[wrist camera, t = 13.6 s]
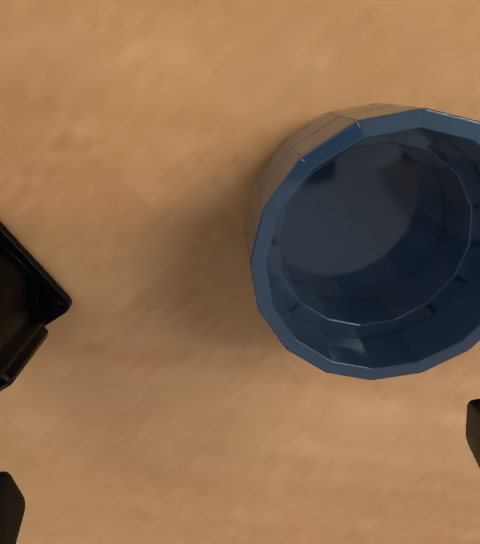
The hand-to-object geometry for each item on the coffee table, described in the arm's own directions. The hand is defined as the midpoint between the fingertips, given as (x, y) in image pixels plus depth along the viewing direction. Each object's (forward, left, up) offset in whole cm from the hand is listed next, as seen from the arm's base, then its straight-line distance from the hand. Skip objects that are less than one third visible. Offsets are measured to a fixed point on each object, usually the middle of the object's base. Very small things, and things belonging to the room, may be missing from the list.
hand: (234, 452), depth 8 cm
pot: (+3, +5, -13) cm, 14 cm away
